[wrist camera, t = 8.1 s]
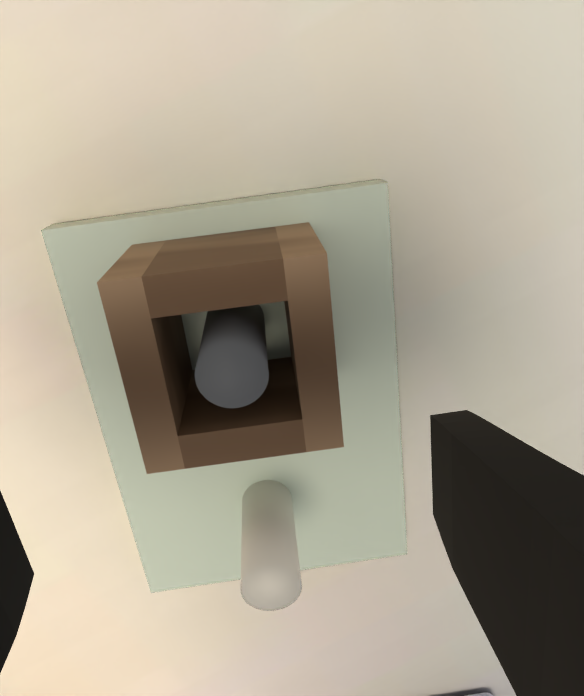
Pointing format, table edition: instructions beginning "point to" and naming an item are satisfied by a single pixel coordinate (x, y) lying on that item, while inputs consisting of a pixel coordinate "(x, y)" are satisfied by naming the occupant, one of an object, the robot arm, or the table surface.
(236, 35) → the table surface
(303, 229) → the wooden block with hole
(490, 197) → the table surface
